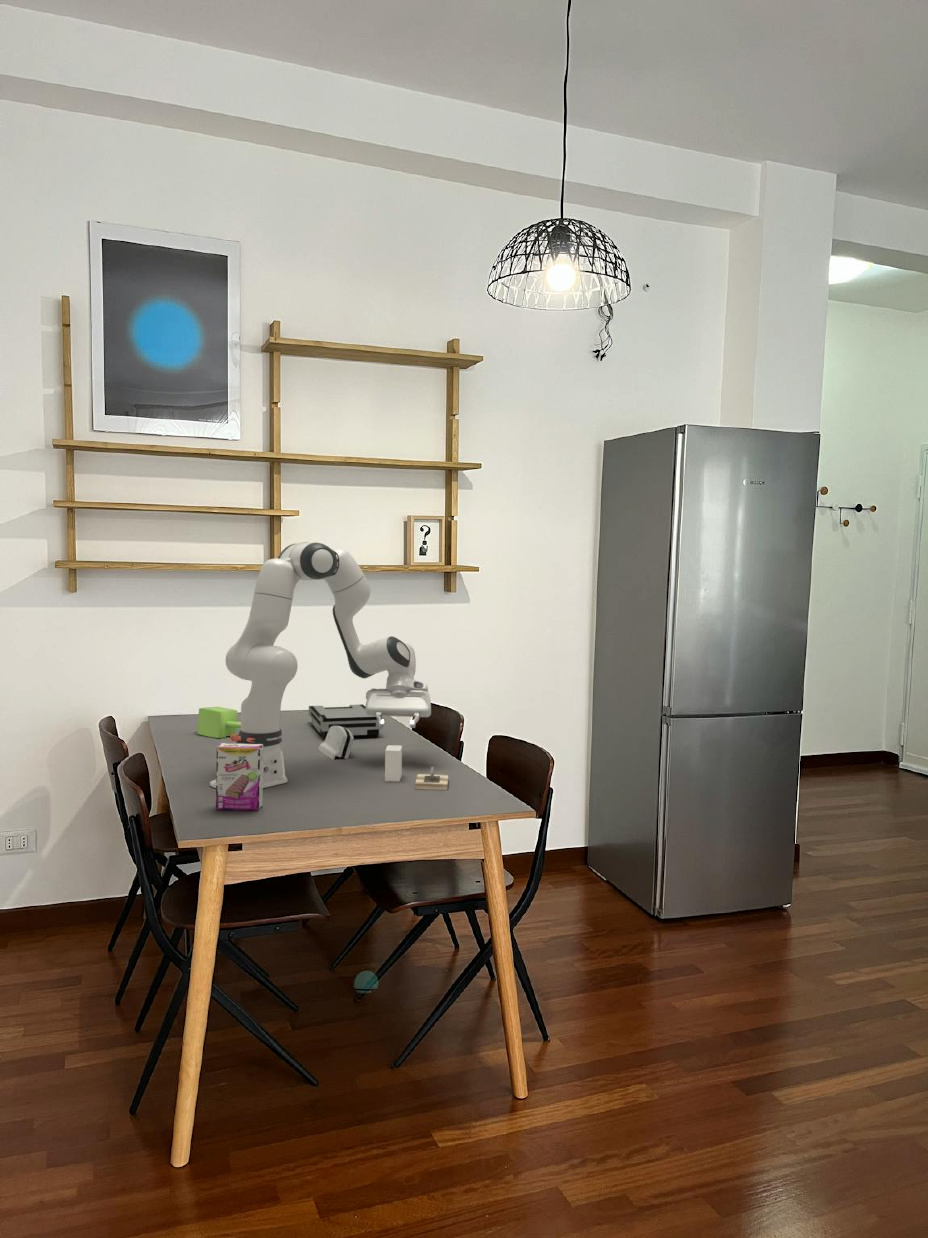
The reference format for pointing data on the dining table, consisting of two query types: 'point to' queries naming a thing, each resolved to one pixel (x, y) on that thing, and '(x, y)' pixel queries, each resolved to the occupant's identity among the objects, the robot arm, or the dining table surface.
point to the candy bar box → (239, 776)
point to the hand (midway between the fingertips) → (396, 726)
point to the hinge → (337, 742)
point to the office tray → (344, 720)
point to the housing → (393, 763)
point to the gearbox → (217, 722)
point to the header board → (431, 781)
